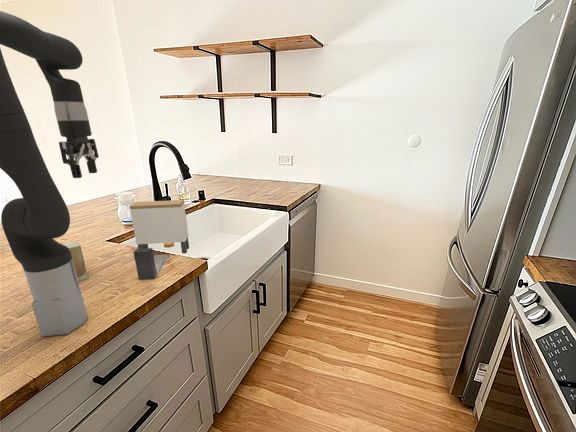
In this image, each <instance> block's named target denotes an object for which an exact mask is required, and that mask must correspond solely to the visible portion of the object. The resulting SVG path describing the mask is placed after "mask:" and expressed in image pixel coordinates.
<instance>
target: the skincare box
mask: <svg viewBox="0 0 576 432" xmlns="http://www.w3.org/2000/svg"><path fill="white" fill-rule="evenodd" d="M61 244H62V245H65V246H67V247H68V248H69V249H70V252H71V255H72V259H73V263H74V267H75V271H76V274H77V278H78V282H79V283H80V282H82V281H85V280H88V279H89V274H88V271H87V267H86V262H85V259H84V255H83V251H82V246H81V244H80V243H79V241H78V240H77V239H76V240H72V241H69V242H63V243H61Z"/></svg>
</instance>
